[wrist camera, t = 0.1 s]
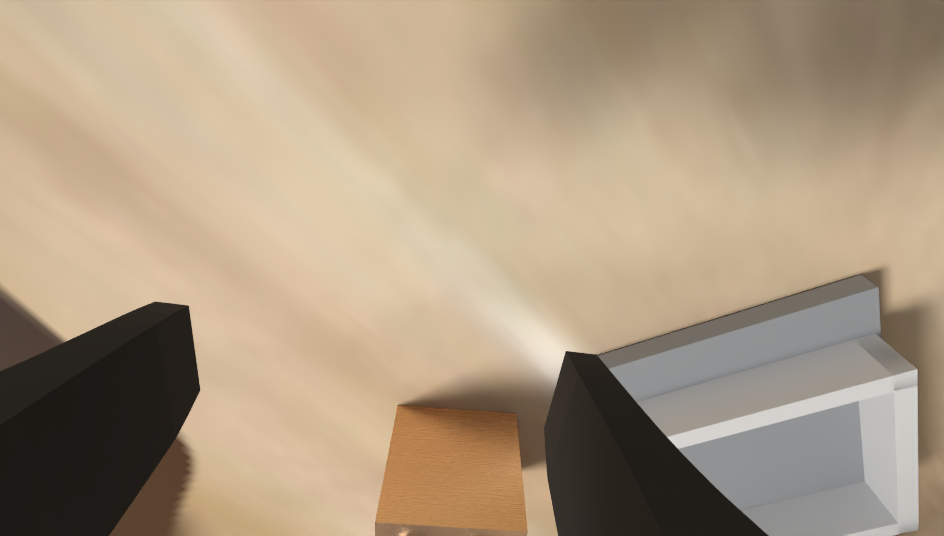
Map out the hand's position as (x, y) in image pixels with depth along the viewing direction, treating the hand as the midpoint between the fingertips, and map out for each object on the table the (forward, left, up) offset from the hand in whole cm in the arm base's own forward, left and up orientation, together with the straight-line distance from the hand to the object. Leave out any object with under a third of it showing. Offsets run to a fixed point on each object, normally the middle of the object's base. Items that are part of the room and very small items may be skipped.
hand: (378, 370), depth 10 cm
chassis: (-14, -17, -10) cm, 24 cm away
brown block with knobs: (-12, -2, -10) cm, 16 cm away
